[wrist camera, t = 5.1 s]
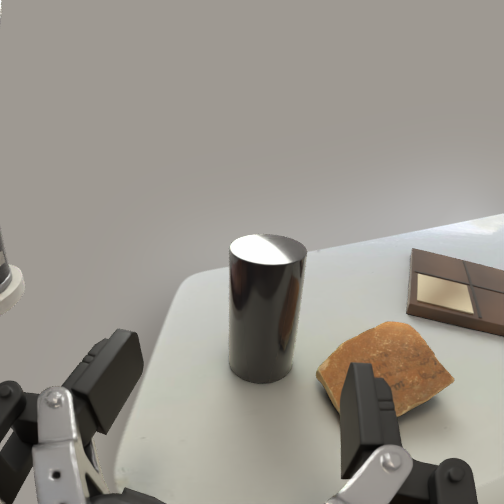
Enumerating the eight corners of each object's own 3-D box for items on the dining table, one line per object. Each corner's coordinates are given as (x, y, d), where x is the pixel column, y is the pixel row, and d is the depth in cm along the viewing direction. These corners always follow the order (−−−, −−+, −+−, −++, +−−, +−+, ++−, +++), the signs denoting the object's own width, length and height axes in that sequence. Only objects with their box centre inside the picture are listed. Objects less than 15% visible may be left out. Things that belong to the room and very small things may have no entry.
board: (406, 313, 29) (409, 302, 28) (410, 255, 42) (412, 246, 41) (535, 343, 22) (540, 332, 22) (506, 279, 36) (509, 271, 35)
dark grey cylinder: (217, 369, 22) (214, 252, 18) (247, 335, 26) (251, 229, 22) (276, 392, 20) (291, 272, 17) (300, 352, 24) (316, 243, 20)
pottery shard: (396, 327, 27) (404, 304, 26) (464, 390, 19) (477, 365, 18) (293, 354, 24) (297, 328, 23) (355, 446, 16) (367, 422, 15)
